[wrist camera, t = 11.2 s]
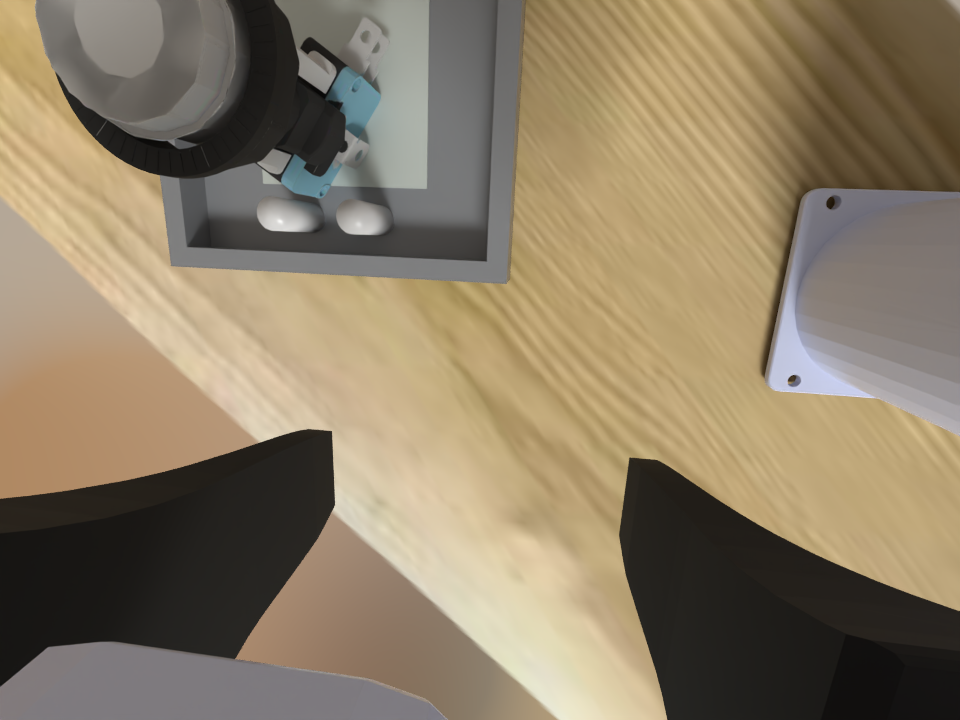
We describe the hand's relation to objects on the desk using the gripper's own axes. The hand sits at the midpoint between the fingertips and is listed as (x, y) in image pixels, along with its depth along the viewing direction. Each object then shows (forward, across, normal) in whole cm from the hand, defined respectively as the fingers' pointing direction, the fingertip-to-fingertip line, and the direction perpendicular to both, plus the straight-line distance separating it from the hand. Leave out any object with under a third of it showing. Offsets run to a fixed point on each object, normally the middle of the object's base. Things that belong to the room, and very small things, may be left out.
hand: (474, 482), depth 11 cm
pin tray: (+10, +7, -12) cm, 17 cm away
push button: (+10, +7, -10) cm, 15 cm away
